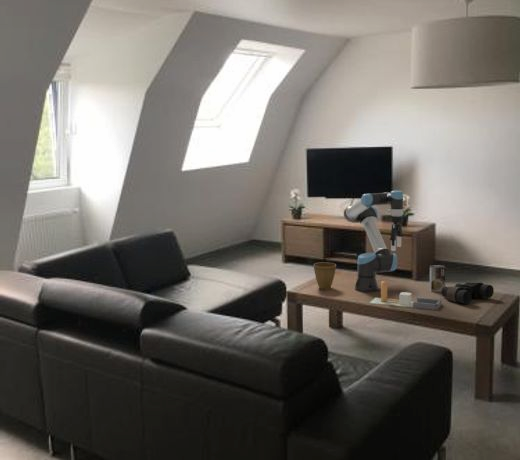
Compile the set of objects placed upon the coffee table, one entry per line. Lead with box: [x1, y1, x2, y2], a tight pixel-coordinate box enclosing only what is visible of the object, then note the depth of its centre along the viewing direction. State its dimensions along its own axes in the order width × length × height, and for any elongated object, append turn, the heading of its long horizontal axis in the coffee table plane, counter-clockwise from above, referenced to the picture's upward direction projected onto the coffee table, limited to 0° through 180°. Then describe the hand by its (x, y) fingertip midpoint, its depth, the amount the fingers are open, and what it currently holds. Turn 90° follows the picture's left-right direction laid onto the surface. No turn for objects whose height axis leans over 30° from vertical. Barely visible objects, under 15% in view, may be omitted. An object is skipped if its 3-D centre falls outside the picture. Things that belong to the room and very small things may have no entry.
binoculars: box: [440, 281, 495, 305], centre depth 376 cm, size 29×20×10 cm
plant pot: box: [313, 261, 337, 290], centre depth 409 cm, size 15×15×16 cm
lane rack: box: [369, 297, 442, 311], centre depth 368 cm, size 40×12×4 cm, turn 63°
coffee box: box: [428, 264, 446, 293], centre depth 397 cm, size 9×6×16 cm
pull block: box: [380, 280, 413, 305], centre depth 370 cm, size 18×6×12 cm, turn 64°
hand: (396, 248), depth 390 cm, fingers open, 13 cm apart
